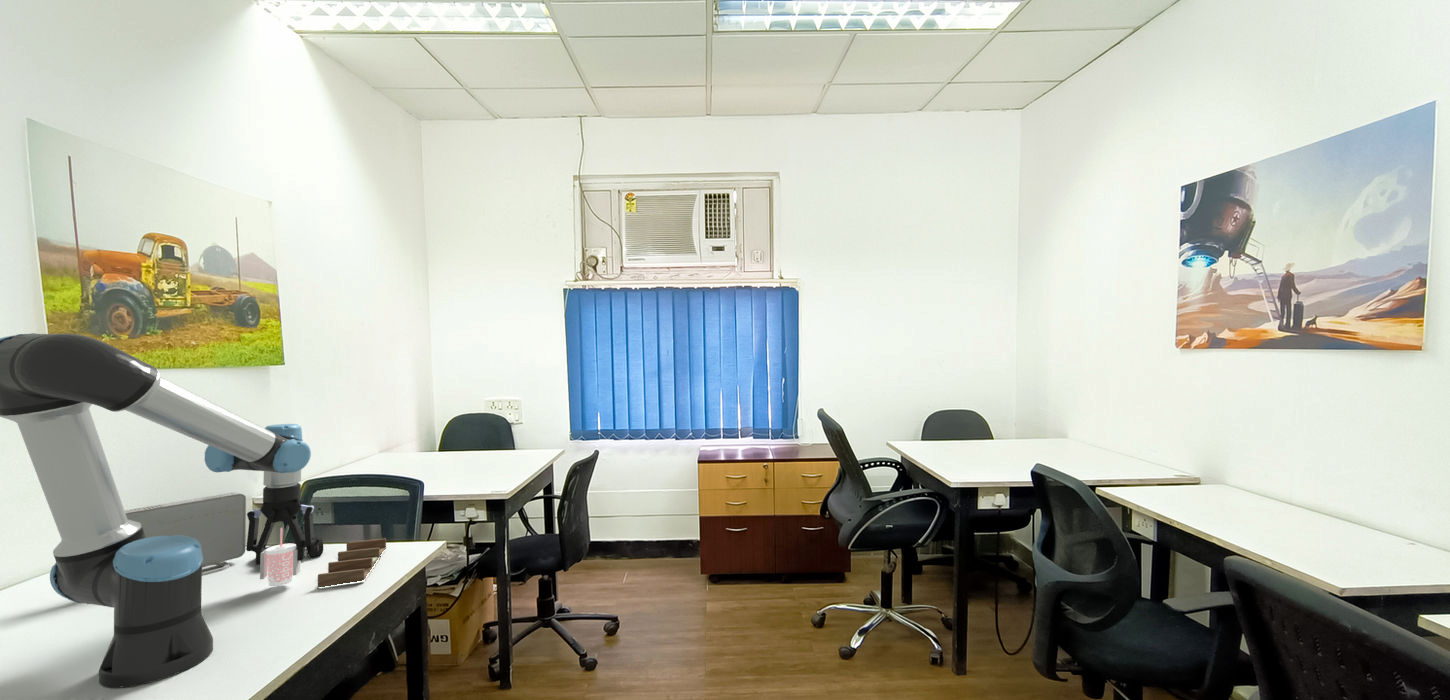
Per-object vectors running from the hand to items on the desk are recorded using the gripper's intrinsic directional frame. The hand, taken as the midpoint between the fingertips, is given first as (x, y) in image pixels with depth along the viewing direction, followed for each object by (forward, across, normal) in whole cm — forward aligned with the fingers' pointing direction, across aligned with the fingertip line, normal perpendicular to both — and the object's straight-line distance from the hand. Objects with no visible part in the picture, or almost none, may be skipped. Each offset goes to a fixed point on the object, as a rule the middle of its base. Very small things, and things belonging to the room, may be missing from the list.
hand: (280, 575), depth 138 cm
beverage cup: (+2, 0, 0) cm, 2 cm away
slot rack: (+3, -14, -8) cm, 17 cm away
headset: (+3, +6, -24) cm, 25 cm away
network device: (+3, +28, -18) cm, 33 cm away
